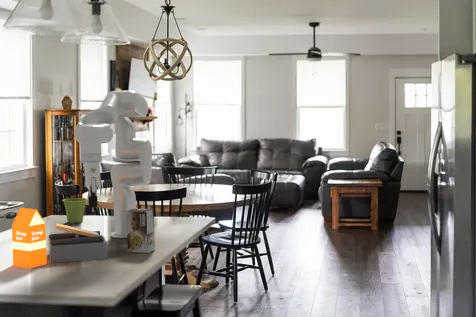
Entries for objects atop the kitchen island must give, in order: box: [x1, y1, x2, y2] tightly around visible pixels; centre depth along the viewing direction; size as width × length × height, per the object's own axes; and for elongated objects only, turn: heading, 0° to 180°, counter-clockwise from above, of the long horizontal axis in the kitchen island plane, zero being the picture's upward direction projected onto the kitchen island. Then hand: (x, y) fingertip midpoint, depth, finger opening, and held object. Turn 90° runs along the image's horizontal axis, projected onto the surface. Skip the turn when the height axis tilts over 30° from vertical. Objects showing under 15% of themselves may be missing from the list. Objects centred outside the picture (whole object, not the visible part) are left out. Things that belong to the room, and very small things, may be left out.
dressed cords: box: [48, 230, 105, 245], centre depth 245 cm, size 19×14×2 cm
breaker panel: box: [48, 233, 108, 264], centre depth 246 cm, size 20×16×9 cm
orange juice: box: [11, 207, 48, 269], centre depth 233 cm, size 8×9×20 cm
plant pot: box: [62, 198, 88, 224], centre depth 326 cm, size 12×12×11 cm
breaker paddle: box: [54, 223, 101, 237], centre depth 246 cm, size 16×6×1 cm, turn 108°
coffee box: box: [126, 208, 156, 254], centre depth 254 cm, size 9×6×16 cm
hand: (93, 206), depth 247 cm, fingers closed
